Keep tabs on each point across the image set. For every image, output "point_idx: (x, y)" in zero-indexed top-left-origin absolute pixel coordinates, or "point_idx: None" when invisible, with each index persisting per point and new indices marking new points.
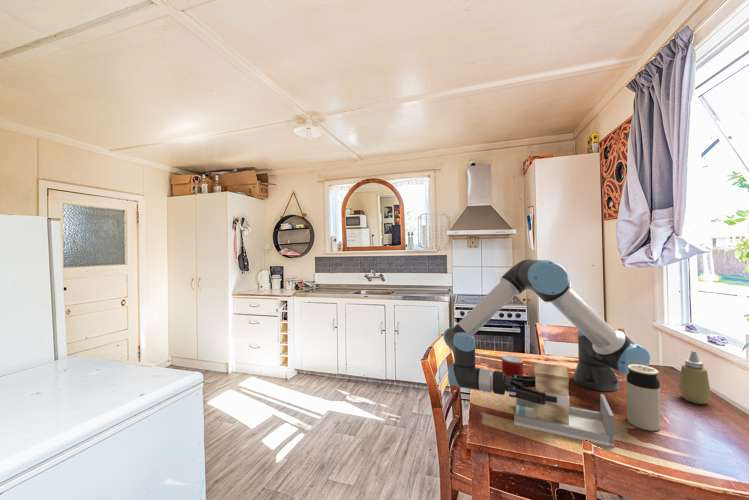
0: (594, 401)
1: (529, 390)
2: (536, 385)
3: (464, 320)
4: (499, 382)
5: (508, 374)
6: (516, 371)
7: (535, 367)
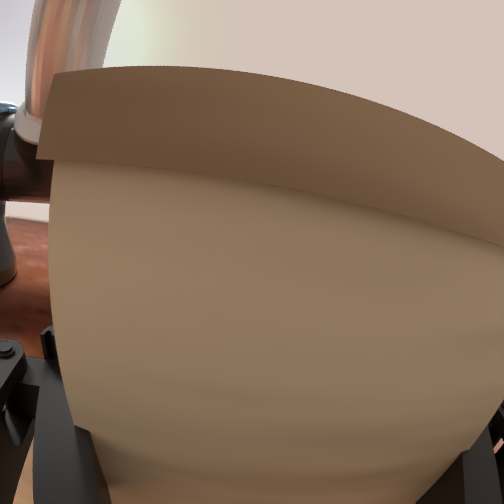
0: (43, 317)
1: (497, 495)
2: (501, 388)
3: None
4: None
5: None
6: None
7: (417, 125)
